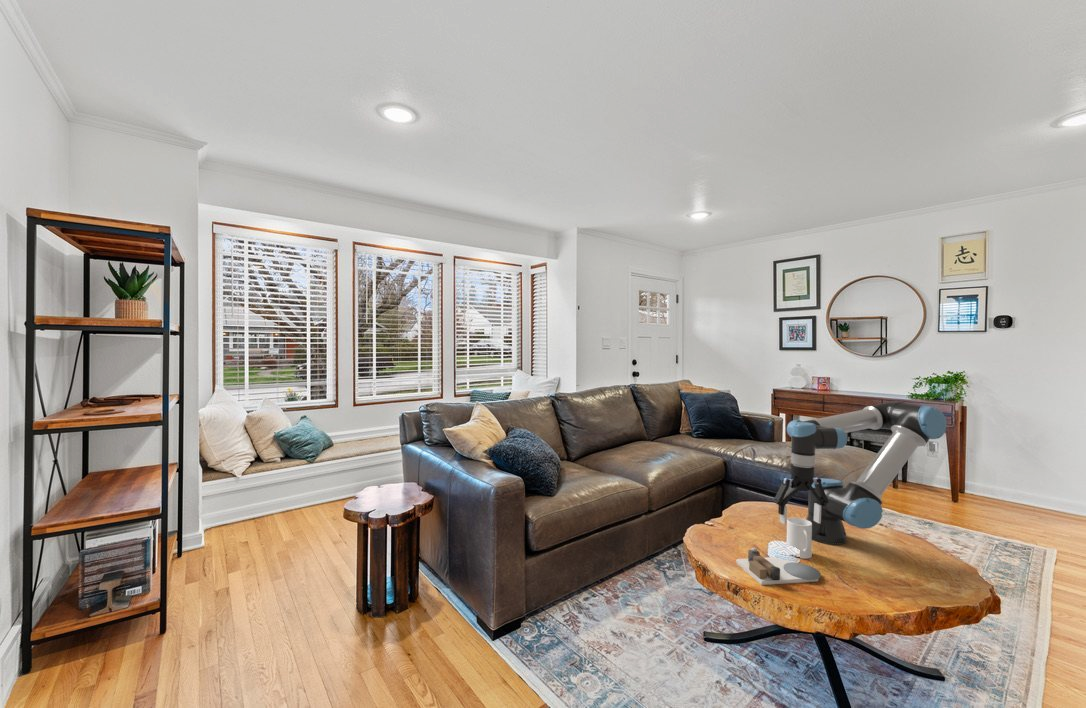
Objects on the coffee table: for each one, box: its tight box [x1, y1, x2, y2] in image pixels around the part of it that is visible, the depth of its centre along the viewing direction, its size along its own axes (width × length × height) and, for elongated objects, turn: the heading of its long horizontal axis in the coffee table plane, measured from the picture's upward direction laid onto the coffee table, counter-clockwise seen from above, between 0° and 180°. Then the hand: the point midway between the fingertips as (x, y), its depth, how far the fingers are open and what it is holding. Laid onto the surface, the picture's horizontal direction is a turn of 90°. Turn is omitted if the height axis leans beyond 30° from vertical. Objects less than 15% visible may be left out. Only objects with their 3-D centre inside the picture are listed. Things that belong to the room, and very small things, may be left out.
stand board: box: [735, 547, 822, 586], centre depth 157 cm, size 23×16×6 cm
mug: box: [786, 517, 813, 560], centre depth 170 cm, size 12×8×12 cm
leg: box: [747, 549, 780, 580], centre depth 156 cm, size 14×4×3 cm, turn 9°
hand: (800, 522), depth 169 cm, fingers open, 13 cm apart
